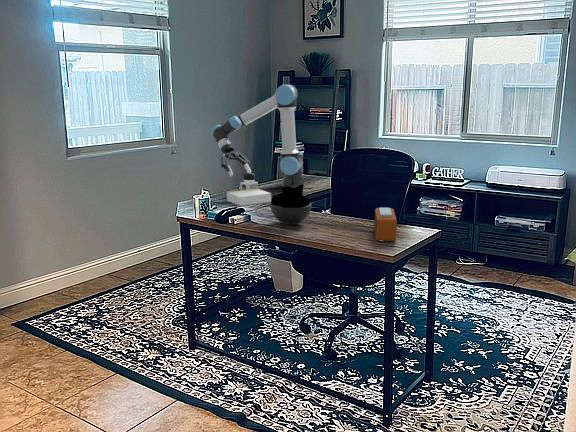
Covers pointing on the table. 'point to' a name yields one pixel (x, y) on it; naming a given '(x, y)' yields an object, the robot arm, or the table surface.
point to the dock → (248, 197)
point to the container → (248, 182)
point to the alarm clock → (385, 224)
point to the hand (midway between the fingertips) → (241, 174)
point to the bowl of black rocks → (290, 205)
